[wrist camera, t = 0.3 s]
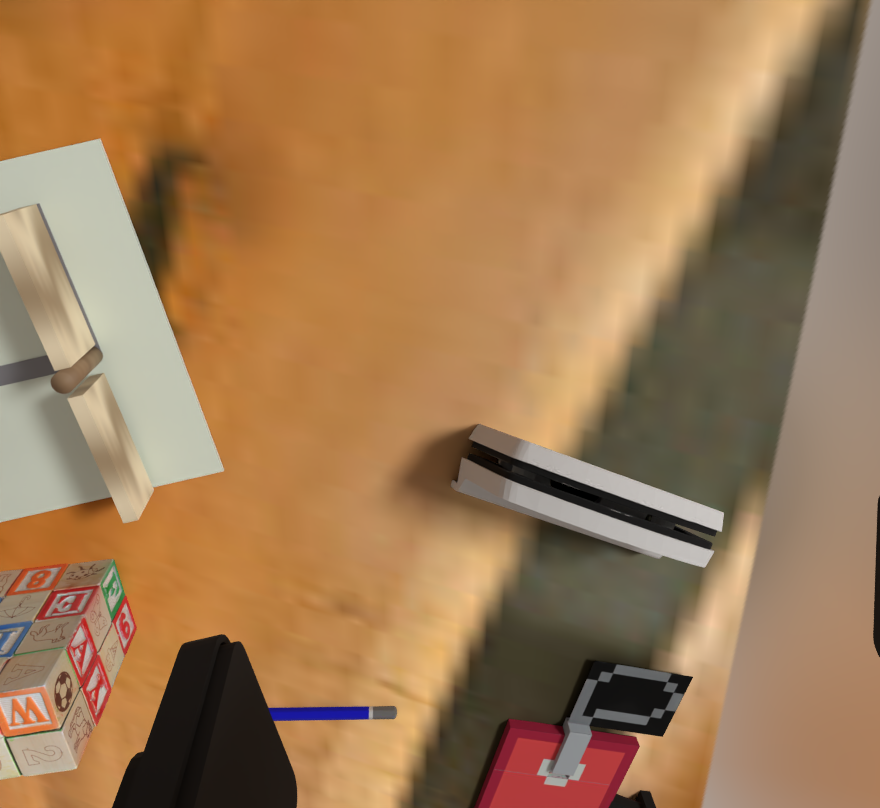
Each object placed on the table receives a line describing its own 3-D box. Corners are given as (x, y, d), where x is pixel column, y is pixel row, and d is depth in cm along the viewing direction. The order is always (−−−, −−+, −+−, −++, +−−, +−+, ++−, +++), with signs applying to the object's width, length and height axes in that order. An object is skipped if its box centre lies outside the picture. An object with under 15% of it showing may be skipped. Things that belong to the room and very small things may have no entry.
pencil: (396, 702, 58) (397, 712, 57) (396, 712, 58) (396, 721, 57) (175, 705, 56) (172, 715, 55) (176, 714, 56) (173, 724, 55)
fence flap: (89, 376, 44) (67, 398, 41) (104, 372, 44) (83, 395, 41) (140, 493, 47) (123, 523, 44) (154, 490, 47) (138, 520, 44)
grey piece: (445, 484, 50) (486, 517, 40) (468, 419, 50) (515, 437, 40) (650, 554, 54) (733, 599, 44) (672, 494, 54) (759, 525, 44)
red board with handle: (709, 671, 59) (535, 643, 57) (724, 698, 57) (543, 669, 54) (587, 907, 70) (437, 891, 68) (594, 938, 68) (439, 923, 65)
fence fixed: (19, 207, 41) (-25, 221, 36) (40, 202, 41) (-1, 216, 36) (87, 365, 44) (56, 395, 40) (107, 360, 44) (77, 391, 40)
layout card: (-224, 212, 40) (-227, 212, 39) (100, 138, 40) (98, 139, 39) (-43, 530, 48) (-45, 533, 48) (224, 469, 48) (223, 471, 48)
